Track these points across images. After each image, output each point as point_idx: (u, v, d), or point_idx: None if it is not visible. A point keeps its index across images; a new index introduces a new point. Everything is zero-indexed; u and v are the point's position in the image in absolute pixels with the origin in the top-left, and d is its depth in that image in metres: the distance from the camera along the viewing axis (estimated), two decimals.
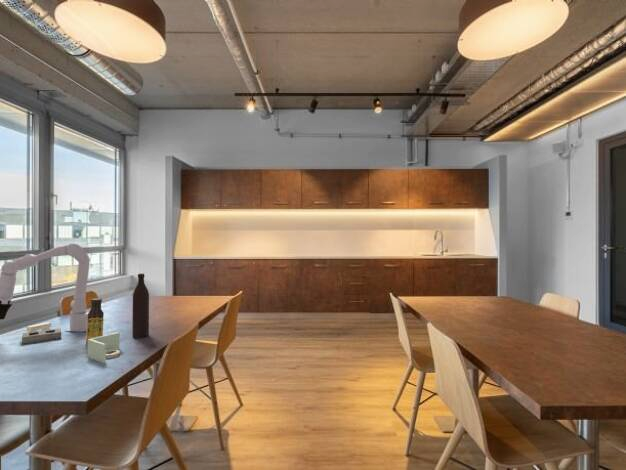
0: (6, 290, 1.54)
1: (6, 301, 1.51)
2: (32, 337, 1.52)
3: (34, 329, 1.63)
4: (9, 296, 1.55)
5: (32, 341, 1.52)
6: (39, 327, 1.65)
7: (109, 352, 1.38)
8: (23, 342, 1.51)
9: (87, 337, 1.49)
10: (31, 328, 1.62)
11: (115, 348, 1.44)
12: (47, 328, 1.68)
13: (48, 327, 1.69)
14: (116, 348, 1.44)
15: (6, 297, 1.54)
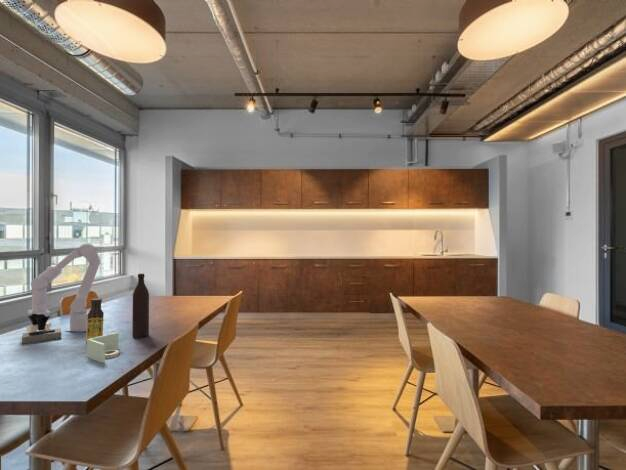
0: (43, 304, 1.65)
1: (50, 313, 1.64)
2: (32, 337, 1.52)
3: (34, 329, 1.63)
4: (46, 309, 1.67)
5: (32, 341, 1.52)
6: None
7: (108, 352, 1.38)
8: (23, 342, 1.51)
9: (87, 337, 1.49)
10: (31, 328, 1.62)
11: (114, 348, 1.44)
12: (47, 328, 1.68)
13: (48, 327, 1.69)
14: (115, 348, 1.44)
15: (44, 310, 1.66)
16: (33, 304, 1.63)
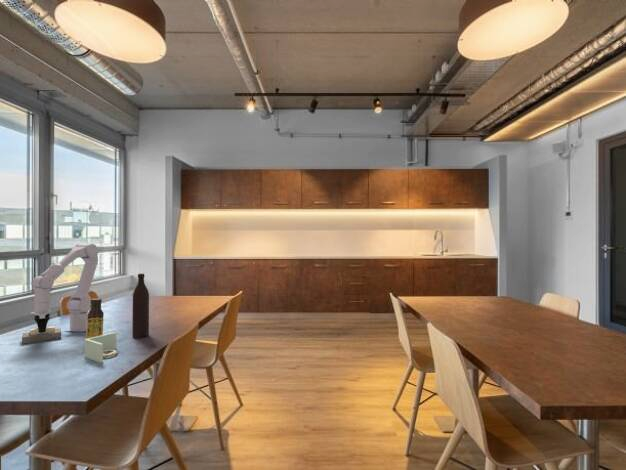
0: (42, 304, 1.56)
1: (43, 315, 1.52)
2: (32, 337, 1.52)
3: (34, 333, 1.55)
4: (46, 310, 1.57)
5: (32, 341, 1.52)
6: None
7: (106, 352, 1.38)
8: (23, 342, 1.51)
9: (87, 337, 1.49)
10: (31, 331, 1.54)
11: (112, 348, 1.44)
12: None
13: (51, 332, 1.59)
14: (113, 348, 1.44)
15: (43, 311, 1.56)
16: (34, 304, 1.56)
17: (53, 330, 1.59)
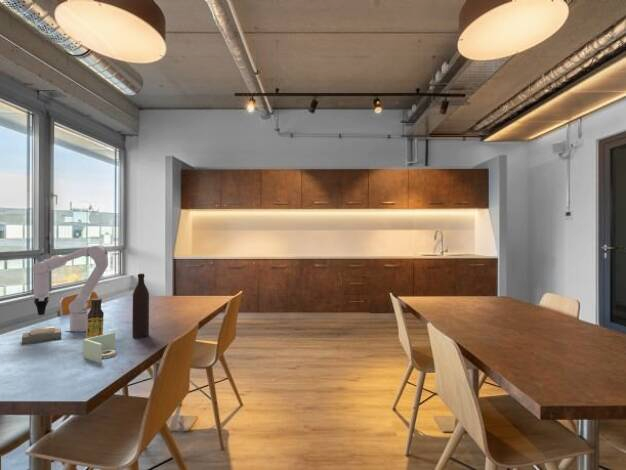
0: (41, 288, 1.67)
1: (42, 298, 1.63)
2: (32, 337, 1.52)
3: (34, 333, 1.55)
4: (45, 293, 1.68)
5: (32, 341, 1.52)
6: (40, 331, 1.56)
7: (105, 352, 1.38)
8: (23, 342, 1.51)
9: (87, 337, 1.49)
10: (31, 331, 1.54)
11: (111, 348, 1.44)
12: None
13: (51, 332, 1.59)
14: (112, 348, 1.44)
15: (42, 294, 1.67)
16: (34, 288, 1.67)
17: (53, 330, 1.59)
